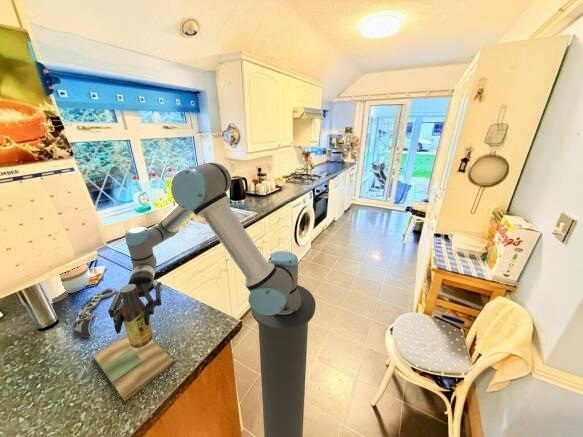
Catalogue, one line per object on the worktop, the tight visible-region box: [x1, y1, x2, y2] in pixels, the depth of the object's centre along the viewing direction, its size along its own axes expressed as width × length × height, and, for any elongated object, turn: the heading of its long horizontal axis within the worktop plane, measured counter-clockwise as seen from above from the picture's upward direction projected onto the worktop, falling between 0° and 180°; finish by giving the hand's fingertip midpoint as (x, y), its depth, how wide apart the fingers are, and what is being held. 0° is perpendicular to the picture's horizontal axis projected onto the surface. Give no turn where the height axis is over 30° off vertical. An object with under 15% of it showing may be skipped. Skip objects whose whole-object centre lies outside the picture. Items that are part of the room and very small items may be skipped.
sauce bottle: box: [119, 284, 153, 348], centre depth 70 cm, size 7×6×20 cm
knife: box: [73, 287, 116, 338], centre depth 94 cm, size 28×2×10 cm
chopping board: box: [93, 334, 174, 402], centre depth 75 cm, size 22×14×2 cm, turn 55°
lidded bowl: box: [60, 263, 91, 294], centre depth 106 cm, size 13×13×11 cm
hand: (132, 325), depth 66 cm, fingers closed on sauce bottle, 6 cm apart
